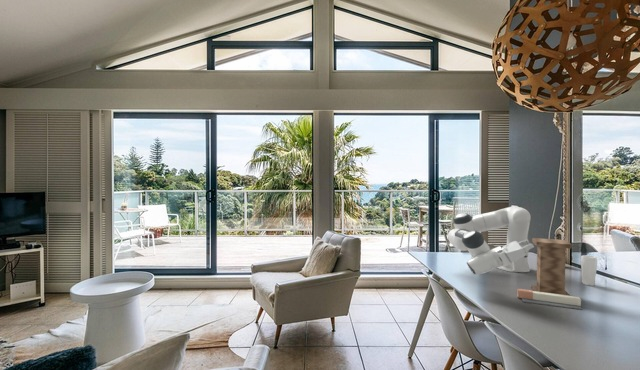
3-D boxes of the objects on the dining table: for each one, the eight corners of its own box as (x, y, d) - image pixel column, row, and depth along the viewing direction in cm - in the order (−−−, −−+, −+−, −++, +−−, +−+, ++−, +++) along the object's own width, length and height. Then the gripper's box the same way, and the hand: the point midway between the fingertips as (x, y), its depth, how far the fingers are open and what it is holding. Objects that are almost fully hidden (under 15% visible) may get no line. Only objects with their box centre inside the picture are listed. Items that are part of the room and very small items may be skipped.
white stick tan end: (517, 297, 157) (518, 290, 157) (517, 295, 160) (517, 288, 160) (580, 305, 147) (581, 298, 147) (578, 303, 150) (579, 296, 150)
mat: (523, 302, 152) (523, 300, 152) (519, 294, 163) (519, 293, 163) (582, 309, 144) (582, 308, 144) (574, 301, 154) (574, 300, 154)
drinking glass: (599, 287, 174) (600, 258, 174) (584, 286, 175) (585, 257, 175) (591, 282, 181) (592, 255, 180) (577, 282, 182) (578, 254, 182)
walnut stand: (535, 295, 161) (536, 241, 161) (531, 287, 172) (532, 237, 172) (570, 299, 156) (572, 244, 155) (563, 291, 167) (564, 240, 166)
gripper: (503, 256, 169) (530, 244, 164) (508, 266, 150) (539, 253, 145) (496, 245, 170) (523, 233, 165) (500, 254, 151) (531, 240, 146)
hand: (531, 243), depth 155 cm, fingers open, 8 cm apart
